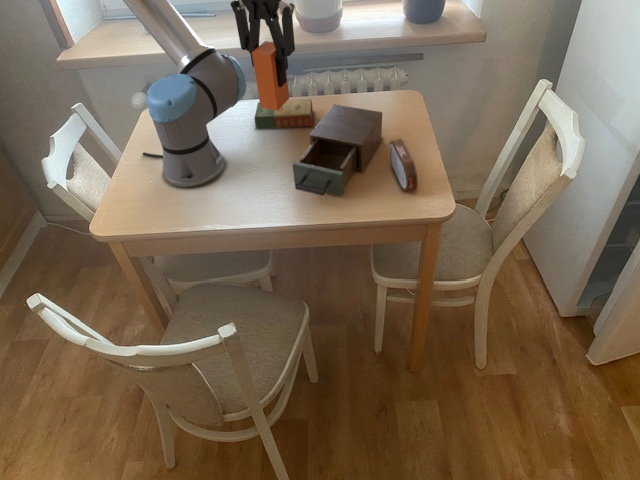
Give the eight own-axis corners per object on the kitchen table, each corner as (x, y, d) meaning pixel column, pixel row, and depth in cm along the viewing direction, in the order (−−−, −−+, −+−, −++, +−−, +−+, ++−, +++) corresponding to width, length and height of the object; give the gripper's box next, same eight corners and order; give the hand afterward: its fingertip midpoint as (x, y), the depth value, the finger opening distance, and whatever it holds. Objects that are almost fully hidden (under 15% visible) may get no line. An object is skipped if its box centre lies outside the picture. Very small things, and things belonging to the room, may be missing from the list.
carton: (311, 127, 134) (310, 113, 131) (255, 129, 135) (253, 116, 132) (312, 111, 140) (311, 98, 137) (259, 114, 141) (256, 101, 138)
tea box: (277, 110, 108) (270, 55, 98) (260, 107, 109) (251, 52, 100) (289, 98, 111) (283, 43, 102) (272, 95, 113) (265, 40, 104)
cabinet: (361, 172, 118) (361, 145, 112) (311, 161, 122) (309, 135, 116) (381, 139, 128) (382, 112, 122) (334, 130, 132) (333, 104, 126)
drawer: (334, 209, 107) (333, 187, 103) (286, 197, 111) (283, 176, 107) (363, 161, 119) (363, 140, 115) (318, 152, 123) (317, 131, 119)
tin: (417, 197, 110) (420, 167, 104) (404, 199, 110) (406, 169, 104) (398, 159, 120) (401, 131, 114) (386, 161, 120) (388, 133, 114)
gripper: (207, -30, 90) (230, 84, 107) (289, -23, 85) (300, 96, 102) (227, -42, 95) (246, 69, 112) (306, -36, 90) (314, 80, 106)
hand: (272, 82), depth 107 cm, fingers closed on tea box, 4 cm apart
